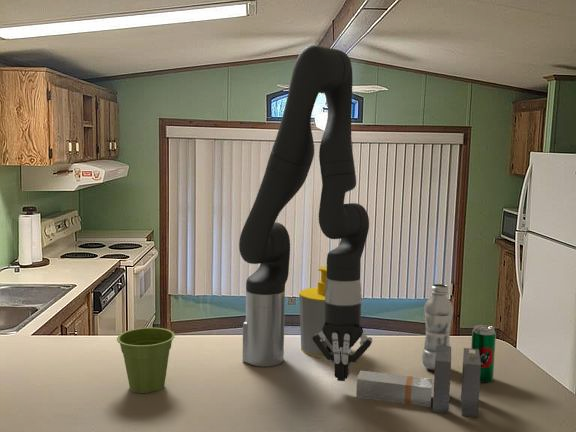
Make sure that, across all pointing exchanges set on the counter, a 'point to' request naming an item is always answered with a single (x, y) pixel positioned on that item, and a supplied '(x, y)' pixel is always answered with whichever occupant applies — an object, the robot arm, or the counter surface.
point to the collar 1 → (442, 379)
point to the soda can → (485, 349)
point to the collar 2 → (470, 382)
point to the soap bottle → (313, 315)
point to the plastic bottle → (436, 323)
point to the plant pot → (146, 357)
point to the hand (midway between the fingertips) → (341, 379)
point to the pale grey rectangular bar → (394, 388)
